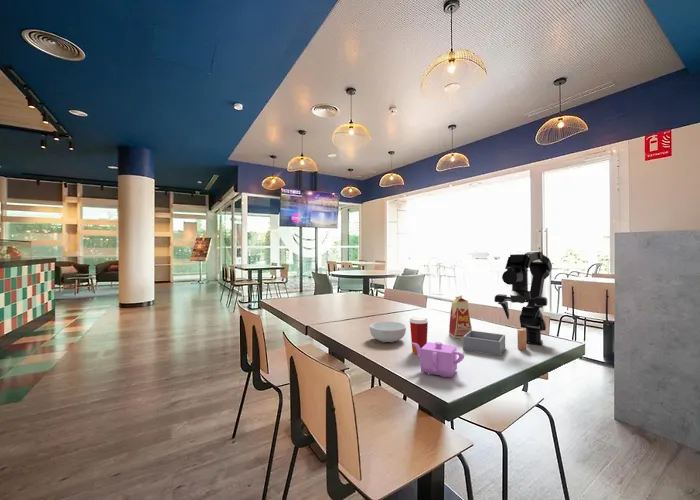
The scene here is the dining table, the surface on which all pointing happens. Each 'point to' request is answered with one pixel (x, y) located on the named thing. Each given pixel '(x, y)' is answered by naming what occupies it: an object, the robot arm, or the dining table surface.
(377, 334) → the cereal bowl
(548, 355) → the dining table surface
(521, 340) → the peg
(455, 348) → the teapot
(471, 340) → the box
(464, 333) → the milk carton
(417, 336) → the paper cup
